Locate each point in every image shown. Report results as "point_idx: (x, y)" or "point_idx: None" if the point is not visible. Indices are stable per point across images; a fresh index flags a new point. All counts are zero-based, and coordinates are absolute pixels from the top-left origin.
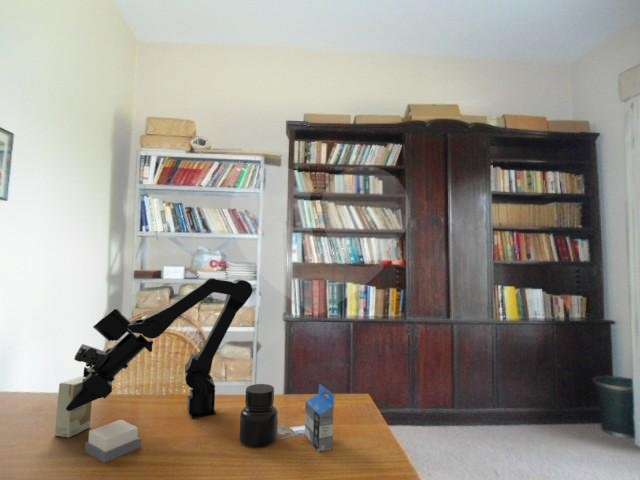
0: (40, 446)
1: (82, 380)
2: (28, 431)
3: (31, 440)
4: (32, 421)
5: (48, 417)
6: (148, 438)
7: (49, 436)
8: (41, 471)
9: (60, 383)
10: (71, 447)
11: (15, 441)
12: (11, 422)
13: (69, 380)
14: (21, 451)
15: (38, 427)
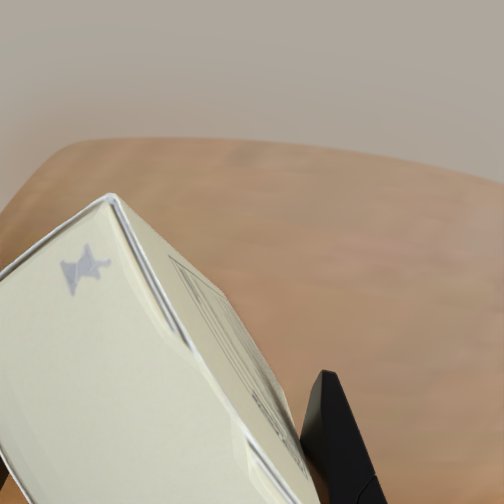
0: (159, 229)
1: (47, 487)
2: (358, 218)
3: (246, 212)
4: (456, 249)
5: (464, 308)
6: (8, 484)
7: (236, 275)
8: (13, 210)
9: (93, 202)
10: None
11: (280, 168)
12: (479, 191)
13: (150, 363)
14: (167, 175)
15: (379, 257)
